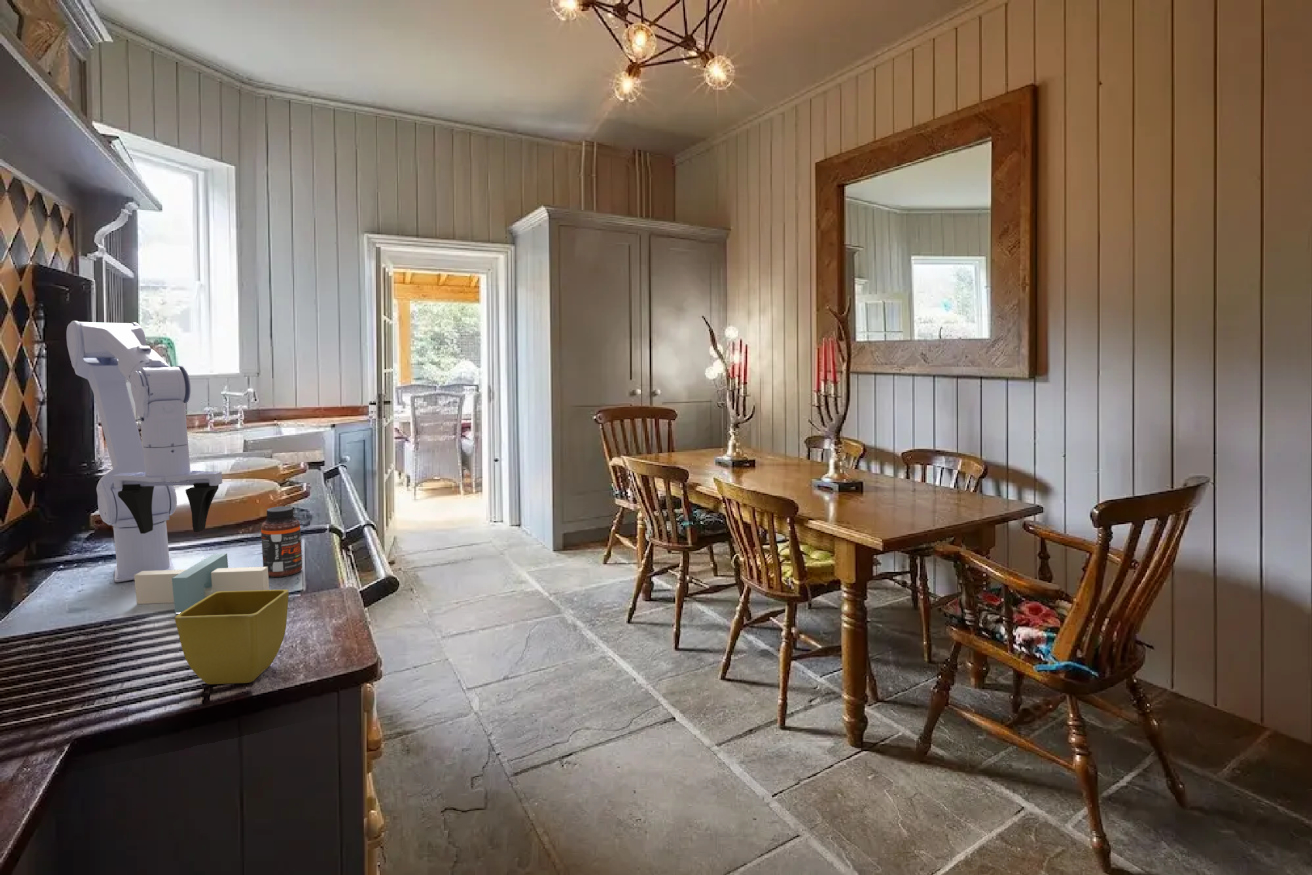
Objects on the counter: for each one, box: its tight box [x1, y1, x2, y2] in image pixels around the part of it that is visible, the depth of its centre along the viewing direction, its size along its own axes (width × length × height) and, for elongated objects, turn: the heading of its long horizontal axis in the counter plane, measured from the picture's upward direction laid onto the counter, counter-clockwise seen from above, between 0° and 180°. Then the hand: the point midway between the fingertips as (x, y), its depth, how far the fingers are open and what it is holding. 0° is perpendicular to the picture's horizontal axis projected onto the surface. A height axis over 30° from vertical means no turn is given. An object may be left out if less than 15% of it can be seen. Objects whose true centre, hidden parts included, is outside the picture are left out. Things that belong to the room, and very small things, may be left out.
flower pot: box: [174, 589, 290, 685], centre depth 81 cm, size 9×9×9 cm
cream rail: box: [134, 566, 270, 605], centre depth 105 cm, size 18×2×4 cm, turn 98°
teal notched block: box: [172, 553, 229, 613], centre depth 105 cm, size 12×2×6 cm, turn 8°
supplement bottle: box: [260, 505, 303, 578], centre depth 118 cm, size 6×6×11 cm
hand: (173, 531), depth 107 cm, fingers open, 7 cm apart
